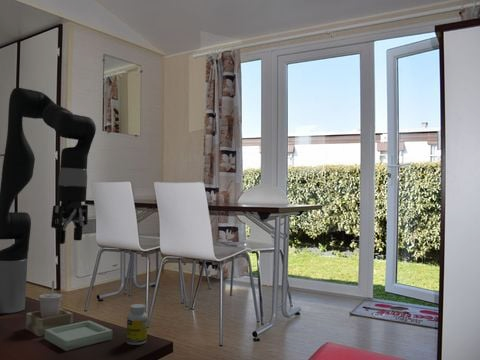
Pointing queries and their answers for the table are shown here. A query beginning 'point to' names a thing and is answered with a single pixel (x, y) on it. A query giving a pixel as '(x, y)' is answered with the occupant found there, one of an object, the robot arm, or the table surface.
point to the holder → (47, 321)
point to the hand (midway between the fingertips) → (69, 242)
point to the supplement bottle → (137, 325)
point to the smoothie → (50, 304)
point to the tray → (77, 335)
